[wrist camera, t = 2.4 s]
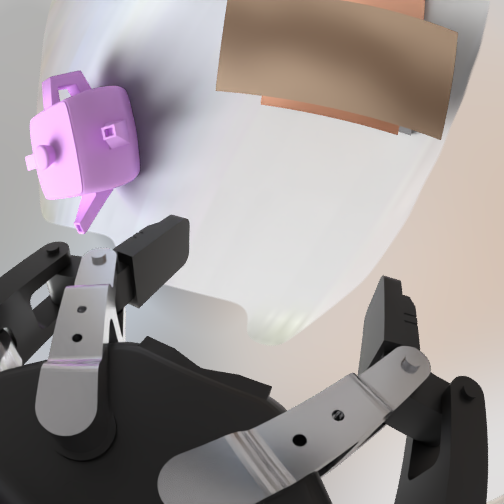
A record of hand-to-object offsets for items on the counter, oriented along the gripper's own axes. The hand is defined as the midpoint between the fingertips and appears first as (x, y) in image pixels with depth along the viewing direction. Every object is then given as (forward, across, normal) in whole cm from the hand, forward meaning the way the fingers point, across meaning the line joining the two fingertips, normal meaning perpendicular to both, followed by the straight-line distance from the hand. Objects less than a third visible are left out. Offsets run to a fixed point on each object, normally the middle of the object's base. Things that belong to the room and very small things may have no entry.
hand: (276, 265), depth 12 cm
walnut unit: (+22, 0, -9) cm, 24 cm away
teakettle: (+22, +31, +2) cm, 38 cm away
